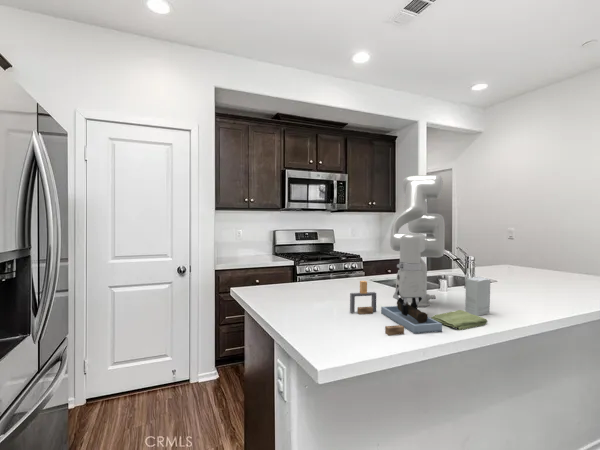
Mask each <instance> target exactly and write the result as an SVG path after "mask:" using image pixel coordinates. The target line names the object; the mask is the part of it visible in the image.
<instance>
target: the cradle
mask: <svg viewBox="0 0 600 450" xmlns="http://www.w3.org/2000/svg"><path fill="white" fill-rule="evenodd" d="M373 313H374V311H373V308H372V307H371V306H358V307H357V314H358V315H371V314H372V315H373ZM384 330H385V331H384V332H385V334H386V335H387V336H394V335H405V328H404V327H403V326H402V325H399V324H398V325H385V327H384Z"/></svg>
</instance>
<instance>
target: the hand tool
mask: <svg viewBox="0 0 600 450" xmlns="http://www.w3.org/2000/svg"><path fill="white" fill-rule="evenodd" d="M396 300H397V299H396ZM406 305H407V306H408V315H410V316H411V317H413V318H415V319H416V320H417V321H418V323H425V322H426V321H427V318H428V317H429V316H428V315H429V314H428V313H426V312H424V311H421V310H420V309H418V308H417V309H416V308H414V307H412V306H410V305H408V302H407V303H406ZM396 306H397V307H398V309H399V310H400V311H401V304H400V302H399V301H398V300H397V301H396Z"/></svg>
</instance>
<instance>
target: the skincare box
mask: <svg viewBox="0 0 600 450" xmlns="http://www.w3.org/2000/svg"><path fill="white" fill-rule="evenodd" d="M464 301H465V307H464V311H465V312H468V313H470V314H472V315H476V316H479V317H480V316H482V315H483V316H484V315H487V314H490V310H491V308H490V306H491V305H490V303H491V279H490V278H487V277H481V276H475V277H474V276H473V277H470V278H469V277H468V278H465V300H464Z"/></svg>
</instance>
